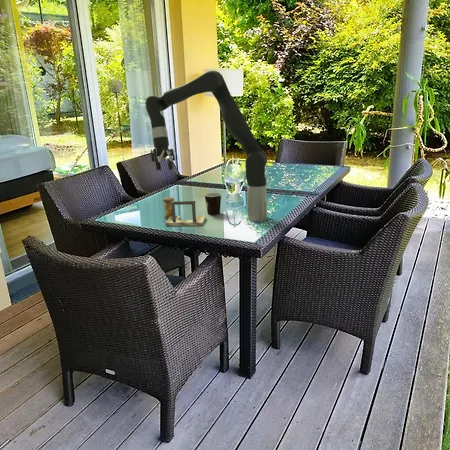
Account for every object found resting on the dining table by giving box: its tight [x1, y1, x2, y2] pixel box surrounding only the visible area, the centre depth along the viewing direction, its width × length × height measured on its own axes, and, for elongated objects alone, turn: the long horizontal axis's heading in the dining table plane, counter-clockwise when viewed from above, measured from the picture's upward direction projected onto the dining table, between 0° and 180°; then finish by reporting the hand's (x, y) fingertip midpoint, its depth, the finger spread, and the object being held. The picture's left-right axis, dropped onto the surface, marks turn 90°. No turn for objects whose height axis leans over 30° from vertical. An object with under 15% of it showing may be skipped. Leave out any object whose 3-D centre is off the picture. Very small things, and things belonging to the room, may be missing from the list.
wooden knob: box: [162, 196, 175, 220], centre depth 225 cm, size 6×6×10 cm
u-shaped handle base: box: [165, 200, 207, 227], centre depth 216 cm, size 18×11×12 cm, turn 84°
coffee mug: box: [204, 192, 222, 216], centre depth 227 cm, size 12×9×10 cm
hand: (165, 170), depth 218 cm, fingers open, 8 cm apart
